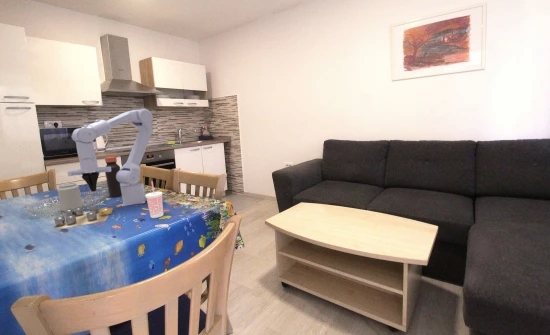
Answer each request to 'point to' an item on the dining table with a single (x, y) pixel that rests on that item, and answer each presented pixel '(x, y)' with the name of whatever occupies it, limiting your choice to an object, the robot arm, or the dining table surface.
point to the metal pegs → (76, 215)
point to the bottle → (113, 177)
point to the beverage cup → (155, 203)
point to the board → (84, 220)
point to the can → (69, 196)
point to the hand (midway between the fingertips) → (93, 190)
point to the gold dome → (105, 211)
